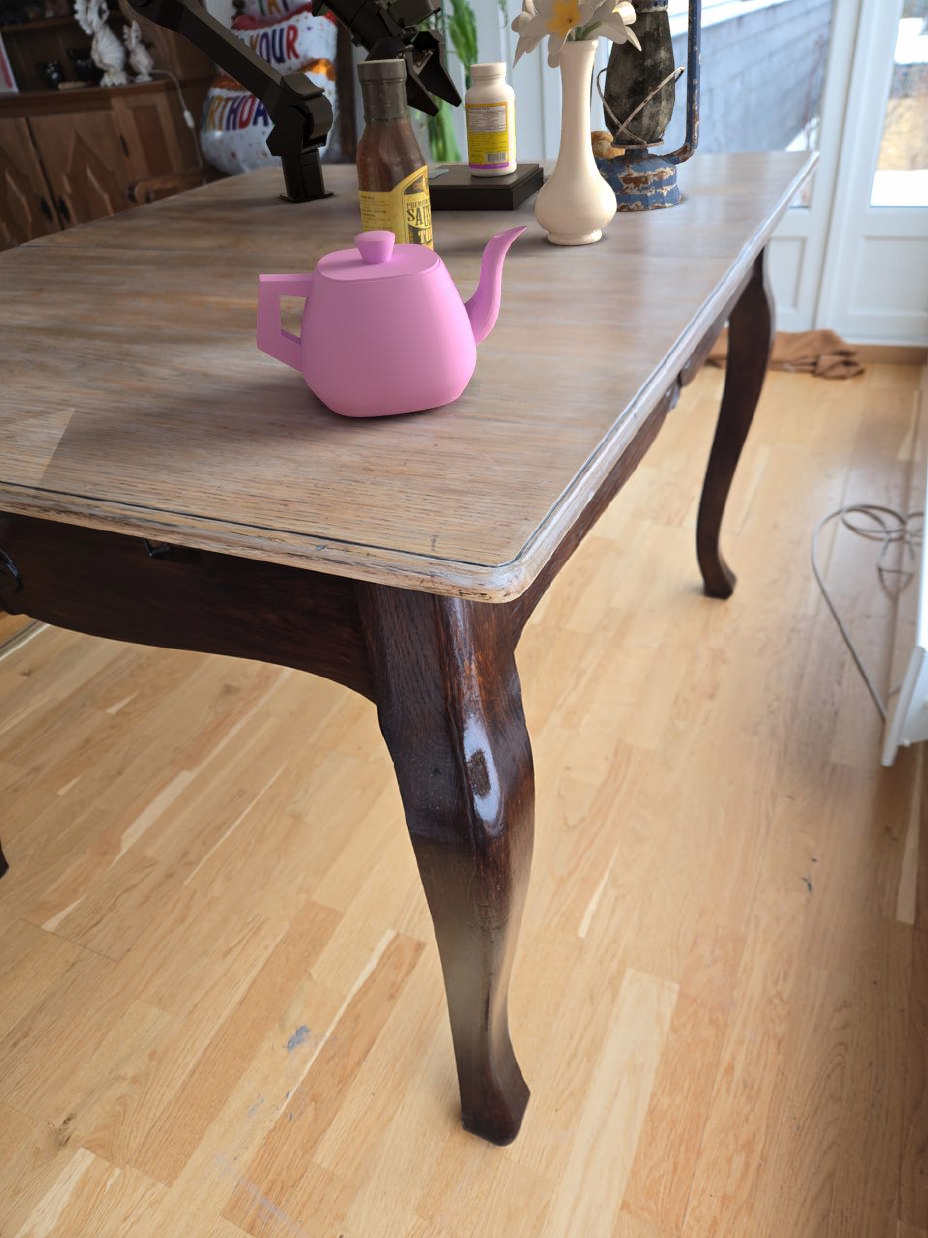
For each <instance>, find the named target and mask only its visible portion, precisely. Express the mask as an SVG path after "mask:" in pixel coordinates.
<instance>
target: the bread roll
mask: <svg viewBox="0 0 928 1238" xmlns="http://www.w3.org/2000/svg"><path fill="white" fill-rule="evenodd" d="M612 141H613V136H612V135H611V133H610V132H609V131H606V130H593V131H592V130H591V145H592V152H593V154H594V155H596V156H598V157H601V158H607V159H610V158H614V157H615V156H618V155H623V154H625V150H626V149H618V148H613V147H611V145H610V144H611V142H612Z"/></svg>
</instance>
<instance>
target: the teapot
mask: <svg viewBox="0 0 928 1238" xmlns="http://www.w3.org/2000/svg"><path fill="white" fill-rule="evenodd" d="M527 227H528V226H527V225H521V226H517V227H513V228H510V229H507V230H505V231H503V232H500V233H498V234H496V235H494V236H492V238H491V239H490V240H489V241H488V242H487V244H486V245H485V248H484V250H483V253H482V259H481V264H480V274H479V281H478V285H477V288H476V290H475V292H474V294H473V295H472V296H471V297H470V298H469V299H467V300H466V301H465V302H464V300H463V297H462V296H461V295H462V294H461V292H460V290H459V289H458V287H457V285H456V283H455V281H454V279H453V277H452V276H451V274H450V272H449V270H448V268H447V266H446V265H445V263H444V261H443V260H442V259H441V257H440V255H439V254H438V253H437V252H436V251H434V249H433V250H432V249H430V248H428V247H426V246H423V245H419V244H409V243H408V244H394V241H395V234H394V233H392V232H389V231H370V232H364V233H363V232H362V233H361V232H360V234H357V235H356V236H354V238H353V240H354V243H355V246H356V247H355V248H348V249H342V250H337V251H333V252H330V253H328V254H326V255H324V256H322V257H321V258H320V259H319V261H318V262H317V264H316V265H315V268H314V271H313V273H267V274H266V273H260V274H258V291H257V294H258V295H257V314H256V317H257V318H256V338H255V341H256V349H257V350H259V351H261V352H263V353H265V354H267V355H268V356H270V357H272V358H275V359H276V360H278V361H280V362H281V363H283V364H285V365H286V366H289V367H290V368H292V369H295V371H298V372H300V373H302V376H303V379H304V380H305V382H306V384H307V386H308V387H309V388H310V389H311V391H312V392H313V393H314V394H315V396H317V398H318V399H319V400H320V401H321V402H322V403H323V404H324V405H325V406H326V407H327V408H328V409H329V410H331V411H332V412H334V413H337V414H339V415H342V416H346V417H355V418H363V417H364V418H365V417H379V416H380V417H381V416H390V415H400V414H407V413H413V412H418V411H425V410H429V409H434V408H439V407H443V406H445V405H448V404H450V403H452V402H454V401H455V400H457V399H458V398H459V397H461V395H462V393H463V392H464V391H465V389H466V387H467V386H468V384H469V382H470V379H471V378H472V375H473V374H474V371H475V368H476V363H477V346H478V345H479V344H481V342H482V341H484V340H485V339H486V338H487V337H488V336H489V334H490V333H491V331H492V330H493V328H494V326H495V324H496V321H497V319H498V316H499V312H500V307H501V297H502V296H501V295H502V292H501V291H502V272H503V265H504V261H505V258H506V254H507V253H508V250H509V249H510V247H511V245H512V243H513V242H514V241H515V240H516V239H517V238H518V236H520V235H521V234H522V233H523V232H525V230H526V229H527ZM281 296H287V297H297V298H298V297H299V298H305V301H304V306H303V310H302V316H301V322H300V333H299V336H297V335H295V334H294V333H292V332H289V331H288V330H286V329H283V328H282V316H281V315H282V313H281Z"/></svg>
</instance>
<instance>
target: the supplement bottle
mask: <svg viewBox="0 0 928 1238" xmlns="http://www.w3.org/2000/svg"><path fill="white" fill-rule="evenodd" d="M506 63H507V62H505V61H496V62H482V63H481V62H480V63H475V64H471V65H470V66H469V70H470V71H469V72H470V73H469V75H470V77H471V80H472V86H471V87H469V88H468V89H467V90H466V91H465V93H464V111H465V125H466V127H465V128H466V143H467V144H466V145H467V162H468V165H469V171H470V173H471V174H472V175H474V176H479V177H495V176H502V175H506V174H510V173H512V172H514V171H515V170H516V164H517V139H516V138H517V137H516V104H515V103H516V102H515V91H514V89H513V87H512V86H510V85H509V84H507V83H506V73H507V64H506Z"/></svg>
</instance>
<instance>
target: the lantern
mask: <svg viewBox="0 0 928 1238" xmlns="http://www.w3.org/2000/svg"><path fill="white" fill-rule="evenodd" d="M631 1H632V2H631V5H632V6H633V8H634V10H635V14H636V20H635V22H634V23H632V24H628V25H625V26H626V27H629V28H630V29H631V30H632V31H633V32H634V34H635V35H636V37H637V39H638V42H639V44H640V47H641V51H640V50H638V49H637V48H636V47H635V46H634V45H633V44H632V43H631V42H630V41H629V40H628V39H627V40H626V42H625V43H624V44H618V43H615V42H613V41H612V43H611V47H610V53H609V57H608V61H607V67H605V68H602V69H601V70H600V71H599V72H598V74H597V76H596V87H597V92H598V95H599V98H600V100H601V102H602V110H603V119H604V125H605V127H606V128H607V130H608V132H609V133H611V135H612V136H613V141H612V142H611V144H610V145H611V147H613V148H618V149H626V150H625V154H623V155H618V156H615V157H614V158H610V159H607V158H601V157H598V156H596V155H594V154H593V156H594V160H595V163H596V166H597V168H598V171H599V173H600V174H601V176H602V177H603V178H604V179H605V180H606V182H607V183H608V184H609V185H610V187H611V189H612V190H613V192H614V194H615V197H616V202H617V210H616V212H637V211H649V210H657V209H663V208H669V207H671V206H674V205H677V204H679V203H680V202H682V200H683V197H682V194H681V192H680V189H679V186H678V184H677V177H678V176H677V173H678V168H677V165H680V164H683V163H686V162H687V161H688V160H689V159H691V158H692V157H693V156H694V154H695V152H696V150H697V149H698V145H699V141H700V105H701V104H700V101H701V99H700V97H701V96H700V95H701V94H700V93H701V48H702V47H701V46H702V44H701V43H702V41H701V40H702V0H688V8H687V9H688V13H687V16H688V18H687V22H688V23H687V60H686V61H687V63H686V64H687V67H685V66H683V65H681V66H679V67H678V68H675V67H676V64H675V56H674V49H673V41H672V35H671V27H670V26H671V25H670V22H669V21H670V19H669V12H668V11H667V10H668V8H669V0H631ZM595 57H596V55H595V56H594V58H595ZM594 68H595V64H594V65H593V68H592V75H591V86H590V113H591V112H592V111H591V110H592V97H593V84H594V71H595V69H594ZM686 68H687V69H686ZM685 70H686V112H685V113H686V117H685V139H684V142H683V144H682V146H680V147H679V148H678V149H675V150H674V151H672V152H669V153H665V154H659V155H658V154H655V153H649V149H650V148H655V147H660V146H663V145H665V140H664V139H663V138H664V137H665V134H666V131H667V126H668V125H669V124H670V122H671V121H672V117H673V113H674V107H675V102H676V83H677V82H678V81H679V80H680V78H681V77H682V75H683V74H684V72H685ZM604 72H606V73H605V82H604V89H603V91H604V92H602V88H601V85H600V76H601V74H602V73H604ZM676 75H677V76H676Z"/></svg>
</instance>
